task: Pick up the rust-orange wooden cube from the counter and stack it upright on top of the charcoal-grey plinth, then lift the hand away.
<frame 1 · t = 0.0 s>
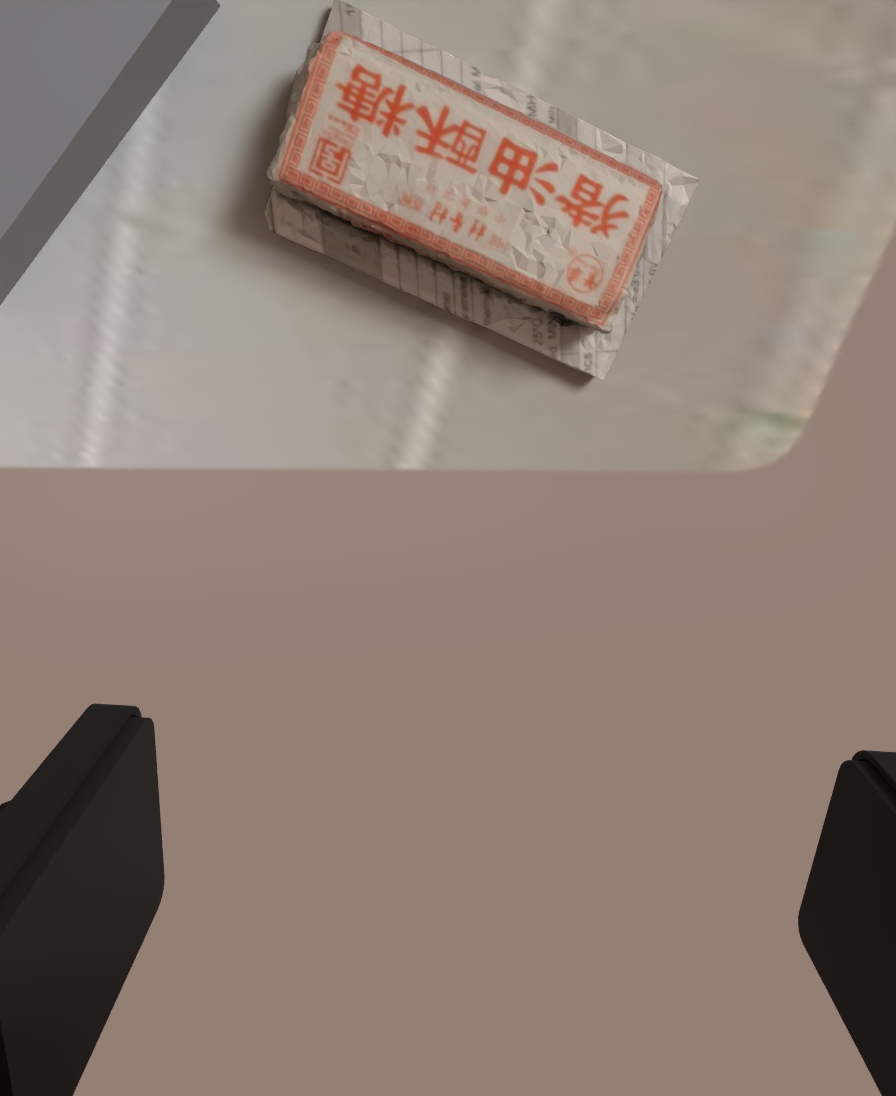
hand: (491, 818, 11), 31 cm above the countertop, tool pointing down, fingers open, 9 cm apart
packaged product: (477, 205, 37), on the countertop
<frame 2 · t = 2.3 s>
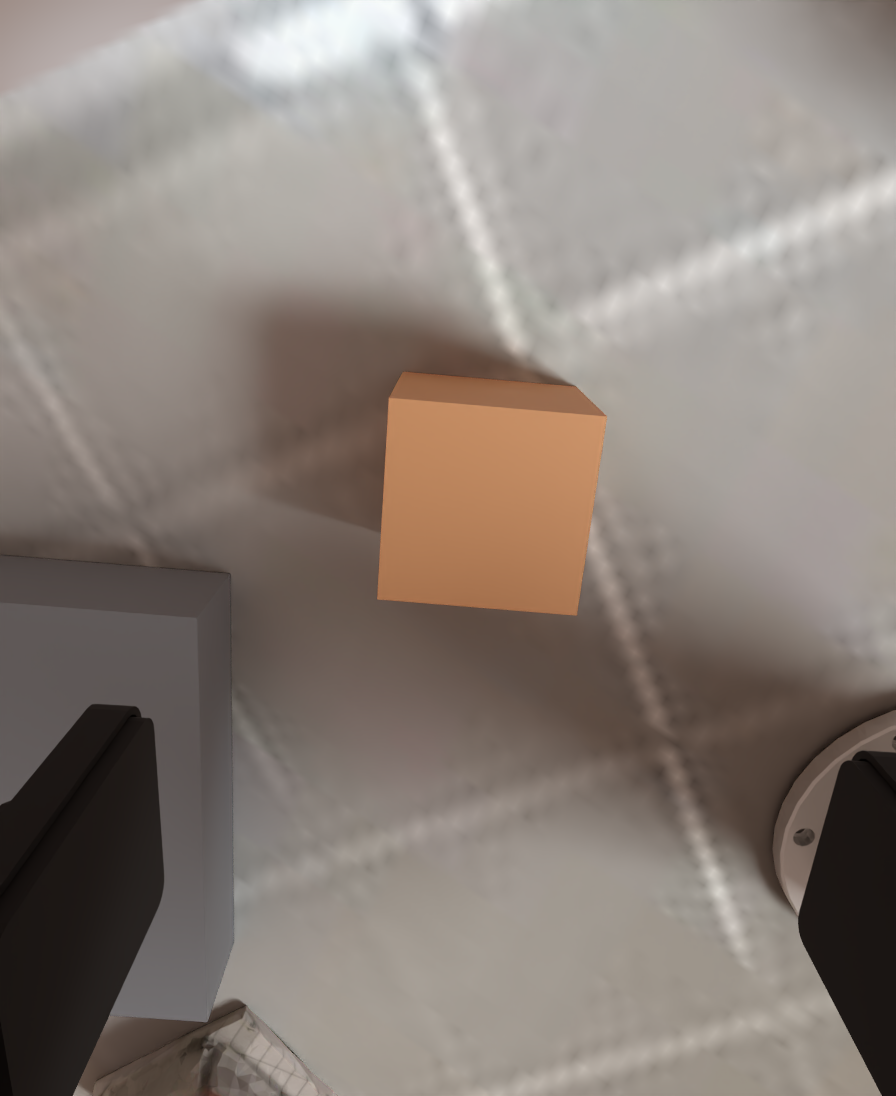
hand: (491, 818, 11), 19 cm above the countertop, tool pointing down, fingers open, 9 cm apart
plinth: (13, 758, 32), on the countertop
cube: (481, 463, 28), on the countertop
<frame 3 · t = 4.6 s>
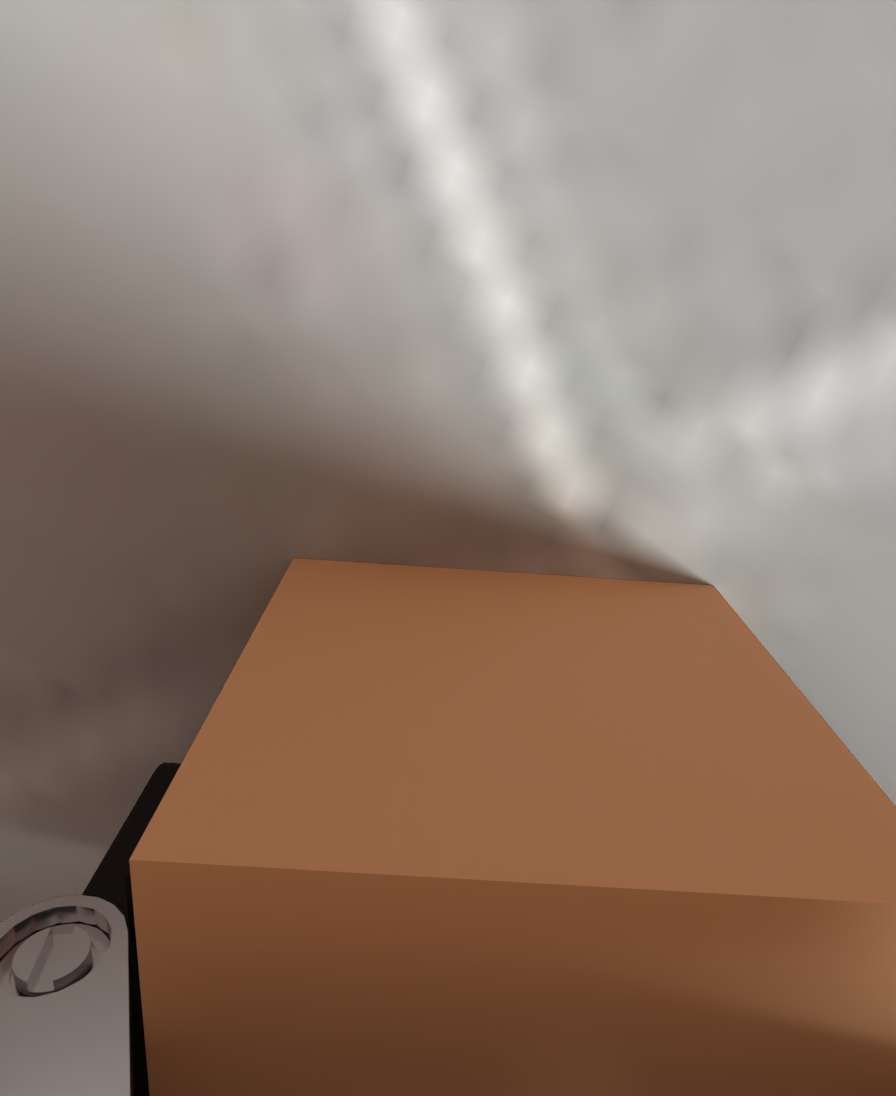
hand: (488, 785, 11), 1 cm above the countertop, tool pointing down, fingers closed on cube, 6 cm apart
cube: (486, 751, 12), on the countertop, touching gripper
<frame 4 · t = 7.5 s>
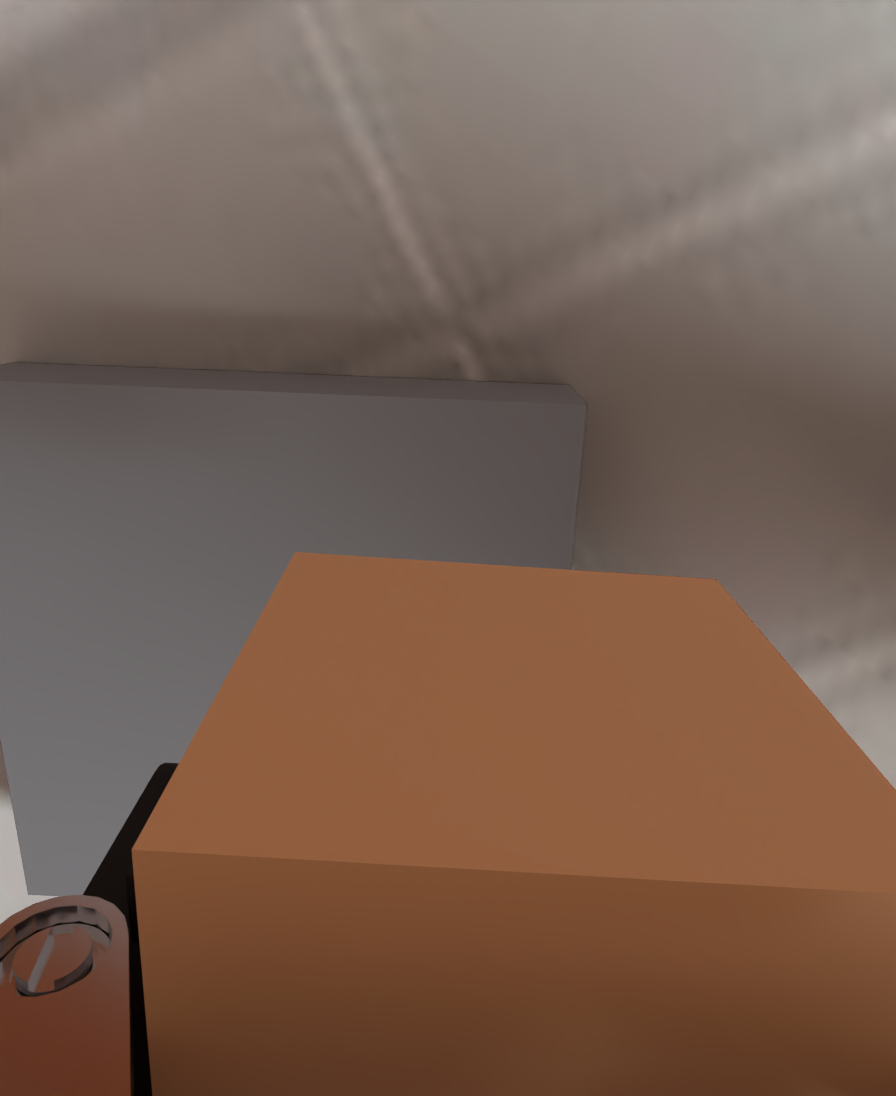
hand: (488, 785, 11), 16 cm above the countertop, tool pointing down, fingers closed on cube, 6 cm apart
plinth: (298, 626, 28), on the countertop
cube: (488, 746, 12), point 15 cm above the countertop, touching gripper
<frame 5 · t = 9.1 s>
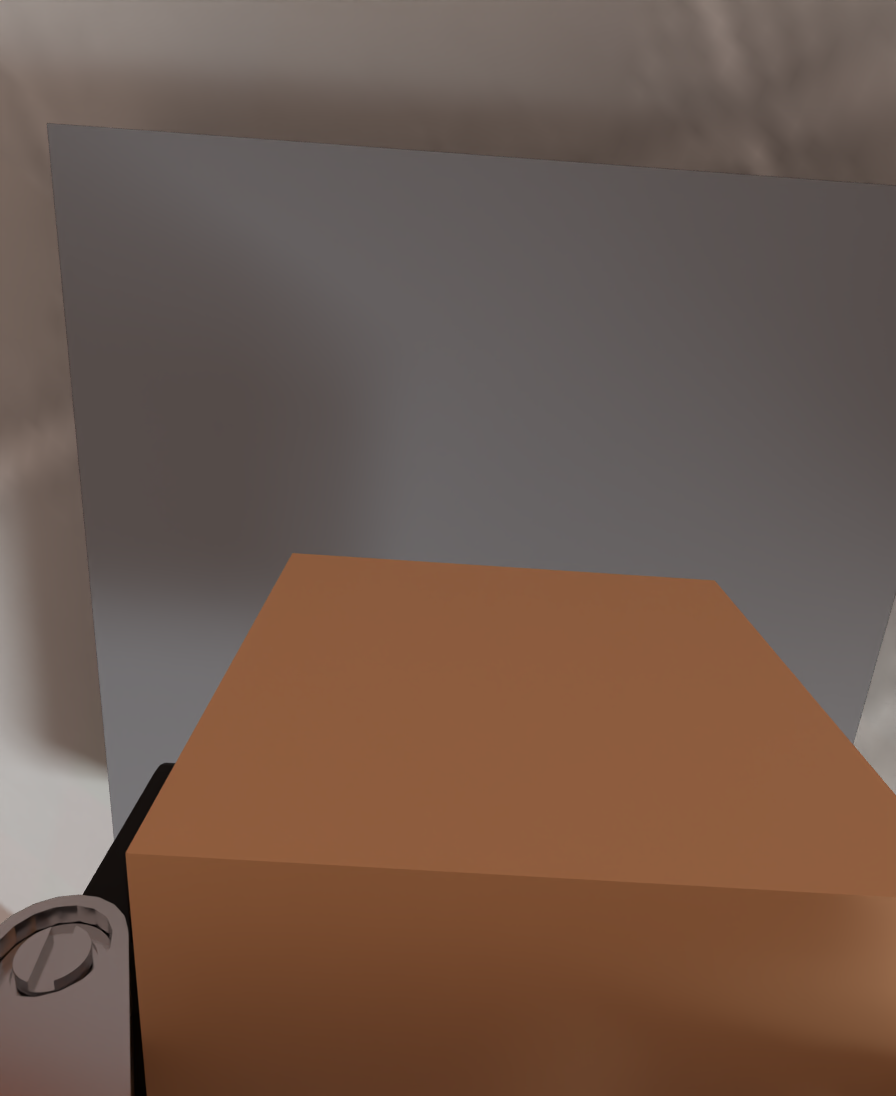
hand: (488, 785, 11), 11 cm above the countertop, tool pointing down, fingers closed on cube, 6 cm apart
plinth: (484, 542, 21), on the countertop
cube: (486, 747, 12), point 10 cm above the countertop, touching gripper
when the fingers open (6 cm above the countertop, at t = 10.4 s): cube drops 1 cm, resting on plinth.
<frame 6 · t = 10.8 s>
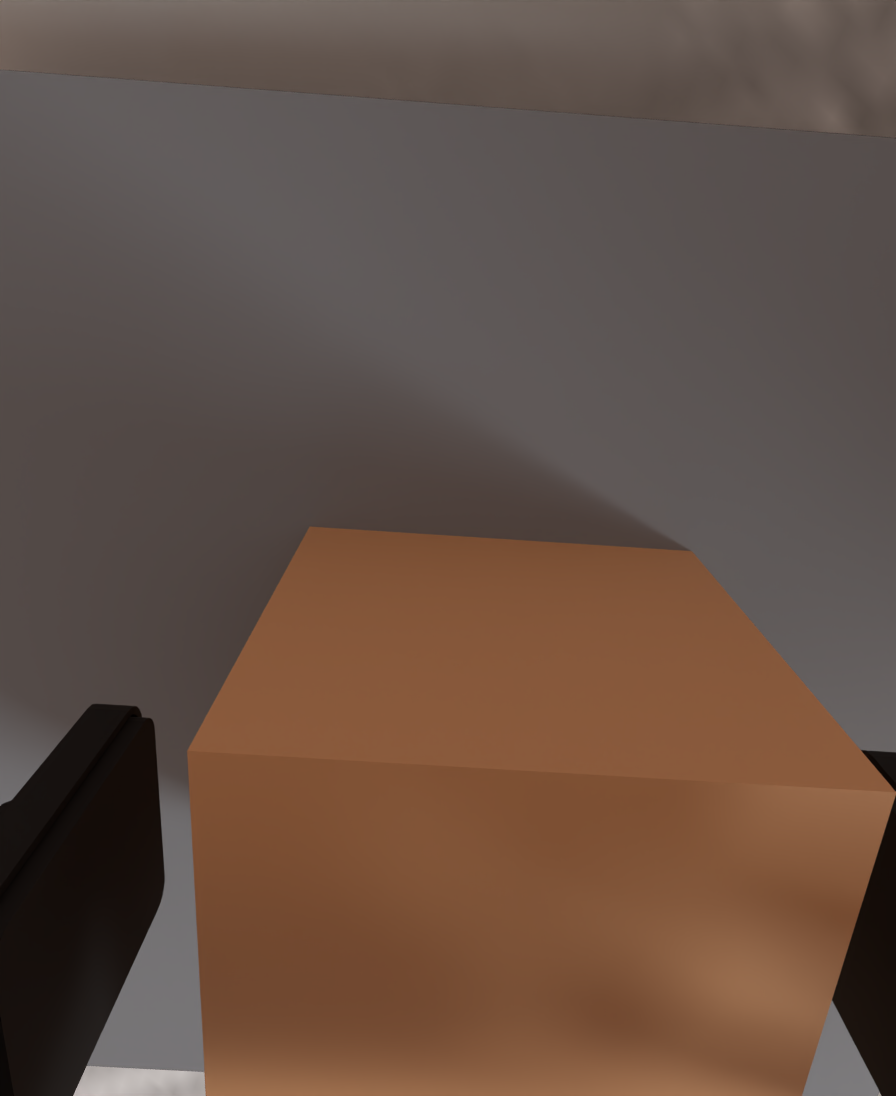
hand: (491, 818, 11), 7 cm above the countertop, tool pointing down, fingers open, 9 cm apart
plinth: (476, 611, 17), on the countertop
cube: (485, 705, 13), point 4 cm above the countertop, touching plinth
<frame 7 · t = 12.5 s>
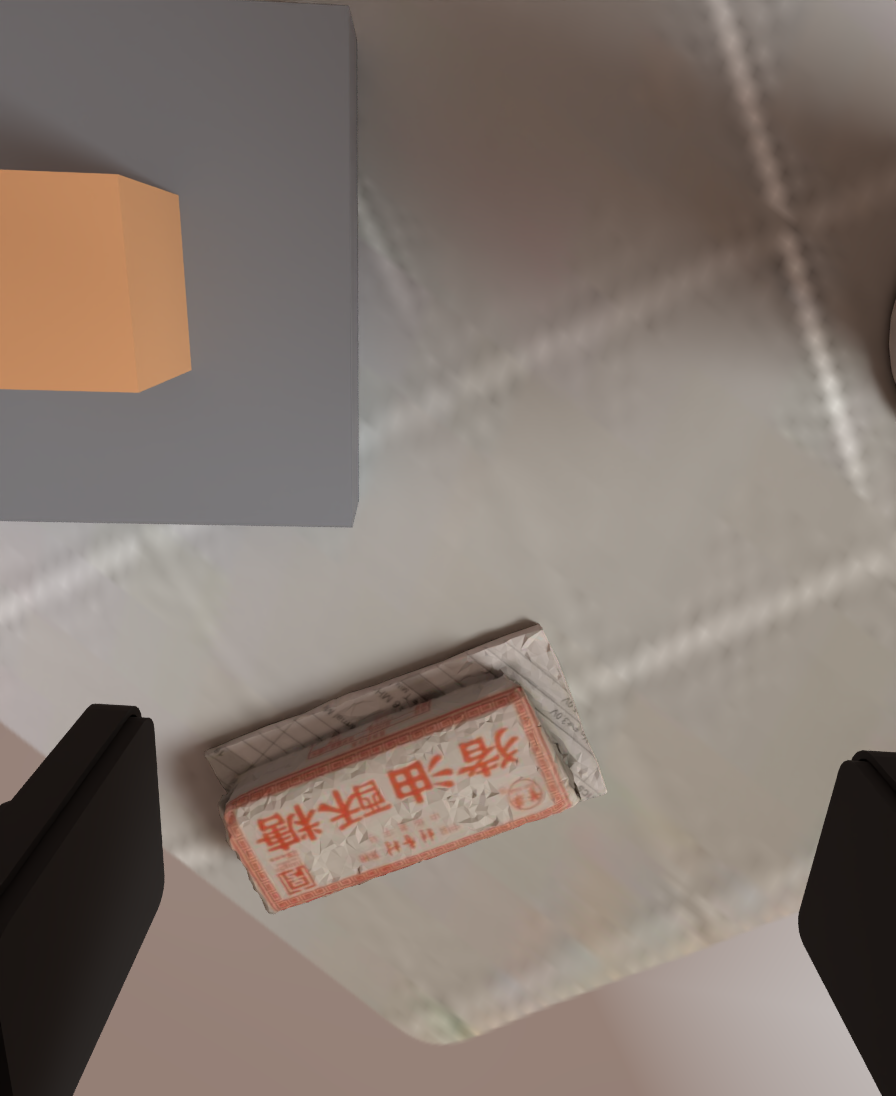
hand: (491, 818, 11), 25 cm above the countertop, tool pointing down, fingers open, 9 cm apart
plinth: (136, 283, 32), on the countertop
cube: (100, 282, 28), point 4 cm above the countertop, touching plinth
packaged product: (409, 756, 41), on the countertop
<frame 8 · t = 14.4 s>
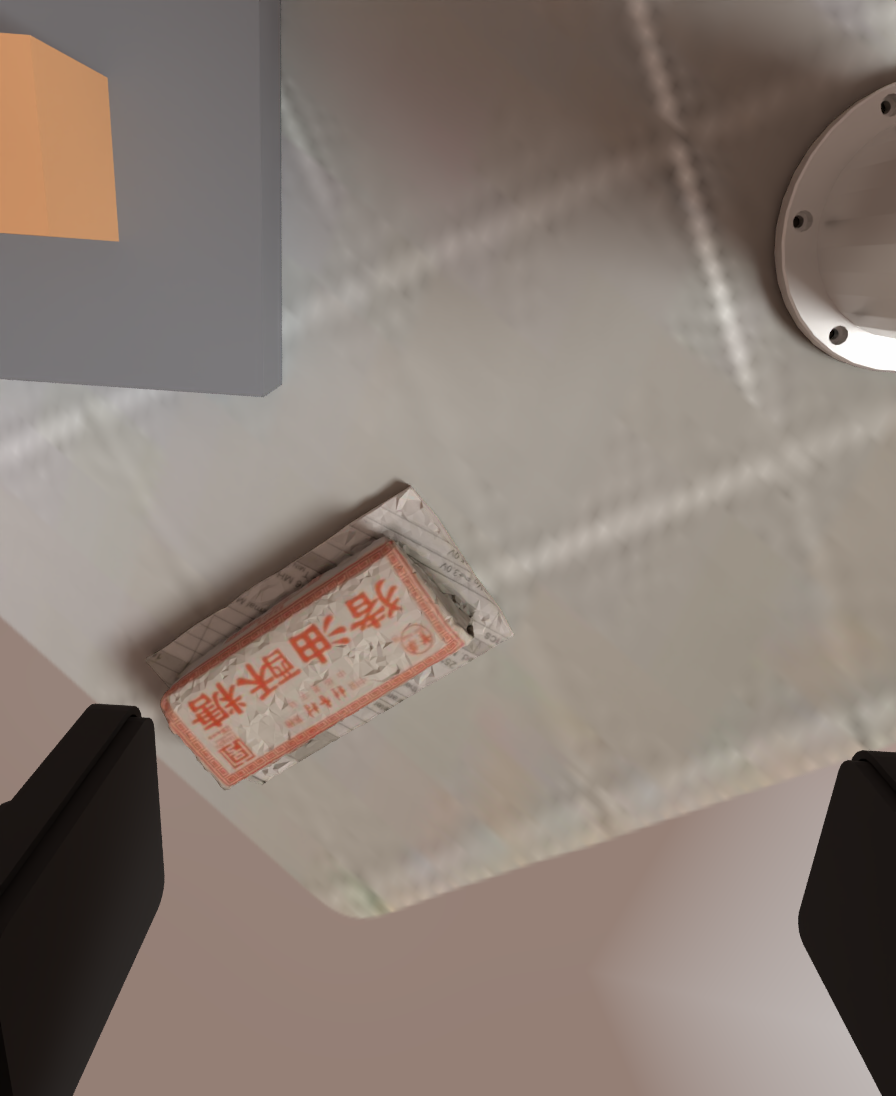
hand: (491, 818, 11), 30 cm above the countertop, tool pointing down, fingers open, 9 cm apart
plinth: (82, 170, 35), on the countertop
cube: (38, 156, 32), point 4 cm above the countertop, touching plinth
packaged product: (331, 635, 44), on the countertop
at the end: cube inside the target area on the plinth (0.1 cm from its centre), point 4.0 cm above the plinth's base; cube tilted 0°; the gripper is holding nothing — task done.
